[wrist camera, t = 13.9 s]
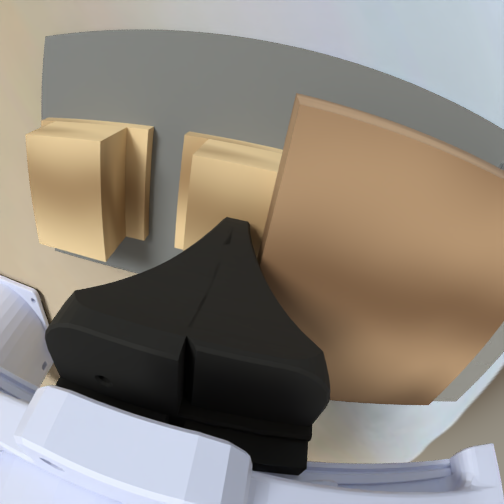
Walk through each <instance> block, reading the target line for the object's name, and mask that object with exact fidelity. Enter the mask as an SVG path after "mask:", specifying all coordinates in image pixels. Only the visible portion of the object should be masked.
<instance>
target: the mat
mask: <svg viewBox="0 0 504 504" xmlns="http://www.w3.org/2000/svg"><path fill="white" fill-rule="evenodd" d="M296 93H298V94H303V95H307V96H311V97H315V98H318V99H322V100H326V101H330V102H333V103H337V104H340V105H344V106H347V107H351V108H354V109H357V110H360V111H363V112H367V113H370V114H373V115H376V116H379V117H382V118H385V119H387V120H390V121H393V122H396V123H399V124H401V125H404V126H407V127H409V128H412V129H415V130H417V131H420V132H422V133H425V134H427V135H430V136H432V137H434V138H437V139H439V140H441V141H444V142H446V143H448V144H451V145H453V146H455V147H457V148H459V149H462V150H464V151H466V152H468V153H470V154H472V155H474V156H476V157H478V158H480V159H482V160H484V161H486V162H488V163H490V164H492V165H494V166H496V167H498V168H499V166H500V163H503V164H504V130H503V129H502V128H500V127H498V126H497V125H495V124H493V123H491V122H490V121H488V120H486V119H484V118H482V117H481V116H479V115H477V114H475V113H473V112H471V111H470V110H468V109H466V108H464V107H462V106H460V105H458V104H456V103H454V102H452V101H450V100H448V99H445V98H443V97H441V96H439V95H437V94H435V93H432V92H430V91H428V90H426V89H423V88H421V87H419V86H416V85H414V84H412V83H409V82H407V81H404V80H402V79H399V78H396V77H394V76H391V75H388V74H386V73H383V72H380V71H377V70H374V69H372V68H369V67H366V66H363V65H359V64H356V63H353V62H350V61H347V60H343V59H340V58H336V57H333V56H329V55H326V54H322V53H318V52H314V51H310V50H306V49H302V48H297V47H293V46H288V45H283V44H278V43H273V42H268V41H263V40H257V39H251V38H244V37H237V36H230V35H222V34H213V33H203V32H190V31H174V30H106V31H90V32H79V33H69V34H60V35H53V36H46V37H45V47H44V58H43V73H42V120H44V119H46V118H70V119H85V120H98V121H109V122H120V123H129V124H138V125H146V126H154V132H153V144H152V158H151V175H150V197H149V235H148V236H147V237H146V239H145V240H144V241H143V240H139V239H135V238H131V237H125V238H124V240H123V241H122V242H121V243H120V245H119V246H118V247H117V248H116V250H115V251H114V252H113V254H112V255H111V256H110V257H109V259H108V260H107V261H106V262H103V261H100V260H96V259H92V258H89V257H85V256H82V255H78V254H75V253H71V252H68V251H64V250H61V249H57V248H55V251H59V252H62V253H66V254H69V255H72V256H76V257H79V258H83V259H86V260H90V261H94V262H97V263H101V264H104V265H108V266H112V267H115V268H119V269H123V270H127V271H130V272H134V273H138V274H139V273H142V272H144V271H146V270H149V269H151V268H153V267H156V266H158V265H160V264H162V263H164V262H166V261H168V260H170V259H171V258H173V257H175V256H176V255H178V254H180V253H181V252H183V250H182V249H178V248H174V246H175V231H176V217H177V204H178V192H179V181H180V171H181V161H182V152H183V143H184V135H185V134H186V133H188V132H196V133H202V134H207V135H213V136H219V137H224V138H229V139H235V140H240V141H245V142H249V143H254V144H259V145H264V146H268V147H273V148H277V149H281V150H283V147H284V143H285V139H286V135H287V131H288V126H289V122H290V118H291V113H292V109H293V105H294V101H295V96H296Z"/></svg>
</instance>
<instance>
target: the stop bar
mask: <svg viewBox="0 0 504 504" xmlns="http://www.w3.org/2000/svg"><path fill="white" fill-rule="evenodd" d="M499 168H500V169H502V170H504V164H503V163H500V166H499ZM503 352H504V322H503V323H502V324H501V326H500V327H499V328H498V330H497V331H496V332H495V333H494V335H493V336H492V337H491V338H490V340H489V341H488V342H487V343H486V345H485V346H484V347H483V348H482V349H481V350H480V352H479V353H478V354H477V355H476V356H475V357H474V359H473V360H472V361H471V362H470V363H469V364H468V365H467V366H466V368H465V369H464V370H463V371H462V372H461V373H460V374H459V375H458V376H457V377H456V378H455V379H454V380H453V381H452V382H451V383H450V384H449V386H448V387H447V388H446V389H445V390H444V391H443V392H442V393H441V394H440V395H438V396H437V397H436V398H435V399H434V400H433V401H457V400H458V399H459V398H460V397H461V396H462V395H463V394H464V393H465V392H466V391H467V390H468V389H469V388H470V387H471V386H472V385H473V384H474V383H475V382H476V381H477V380H478V379H479V378H480V377H481V376H482V375H483V374H484V373H485V372H486V371H487V370H488V369H489V368H490V367H491V366H492V364H493V363H494V362H495V361H496V360H497V359H498V358H499V357H500V356H501V354H502V353H503Z"/></svg>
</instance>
